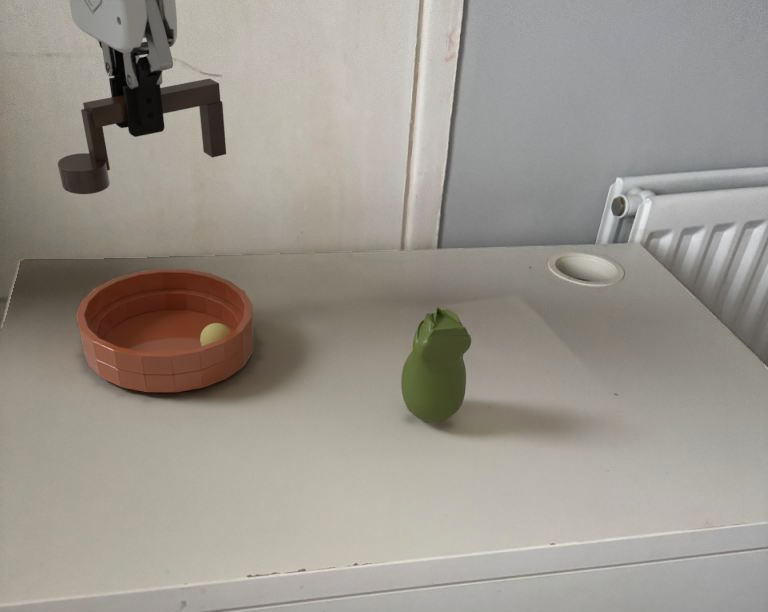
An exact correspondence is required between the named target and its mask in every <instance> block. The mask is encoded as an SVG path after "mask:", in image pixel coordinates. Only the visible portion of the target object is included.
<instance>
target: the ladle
mask: <svg viewBox="0 0 768 612" xmlns="http://www.w3.org/2000/svg"><path fill="white" fill-rule="evenodd" d="M160 89H161V99H162V108H163V115H164V114H170V113H173V112H179V111H183V110H188V109H192V108H197V107H198V108H199V117H200V118H199V119H200V129H201V139H202V151H203V153H204V154H205V155H207V156H209V157H210V158H216V157H220V156H224V155H227V145H226V143H227V142H226V132H225V119H224V118H225V117H224V106H223V105H224V104H223V101H222V100H221V91H220V83H219V82H218V81H215V80H214V79H212V78H205V79H200V80H195V81H190V82H184V83H179V84H173V85H168V86H163V87H160ZM82 105H83V108H81V110H80V113H81V118H82V122H83V124H82V125H83V129H84V133H85V138H86V144H87V150H88V152H87V153H86V152H85V153H80V152H79V153H73V154H69V155H66V156H64V157H61V158H60V159H59V160H58V161H57V168H58V172H59V177H60V182H61V186H62V188H63V190H65V191H66V192H67V193H71V194H74V195H75V194H76V195H90V194H92V195H93V194H96V193H97V194H98V193H100V192H103V191H105V190H107V189H108V188H109V186H110V183H111V182H110V176H109V171H110V170H111V167H110V162H109V157H108V150H107V146H106V140H105V134H104V128H103V127H107V126H111V125H116V124H117V123H121V122H126V121H127V115H126V108H125V101H124V95H121V96H116V97H112V96H111V97H106V98H101V99H96V100H90V101H84V102H83V103H82Z"/></svg>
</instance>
